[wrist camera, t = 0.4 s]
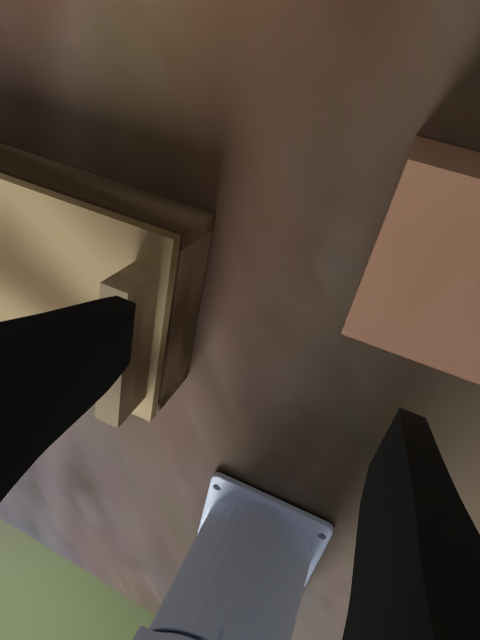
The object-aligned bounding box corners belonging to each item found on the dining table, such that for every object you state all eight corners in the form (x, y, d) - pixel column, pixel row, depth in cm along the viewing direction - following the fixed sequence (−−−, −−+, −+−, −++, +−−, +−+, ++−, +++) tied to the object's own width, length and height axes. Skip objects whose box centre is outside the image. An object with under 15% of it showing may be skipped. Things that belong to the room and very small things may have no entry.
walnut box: (186, 377, 26) (158, 411, 24) (-8, 296, 29) (-52, 318, 26) (215, 213, 21) (184, 233, 18) (-25, 134, 24) (-82, 141, 21)
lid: (156, 414, 23) (123, 454, 21) (-56, 320, 26) (-107, 345, 24) (180, 235, 18) (140, 260, 16) (-88, 142, 21) (-157, 150, 18)
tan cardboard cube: (496, 313, 19) (520, 399, 14) (363, 269, 20) (340, 333, 15) (577, 178, 16) (644, 224, 11) (415, 135, 17) (407, 159, 12)
